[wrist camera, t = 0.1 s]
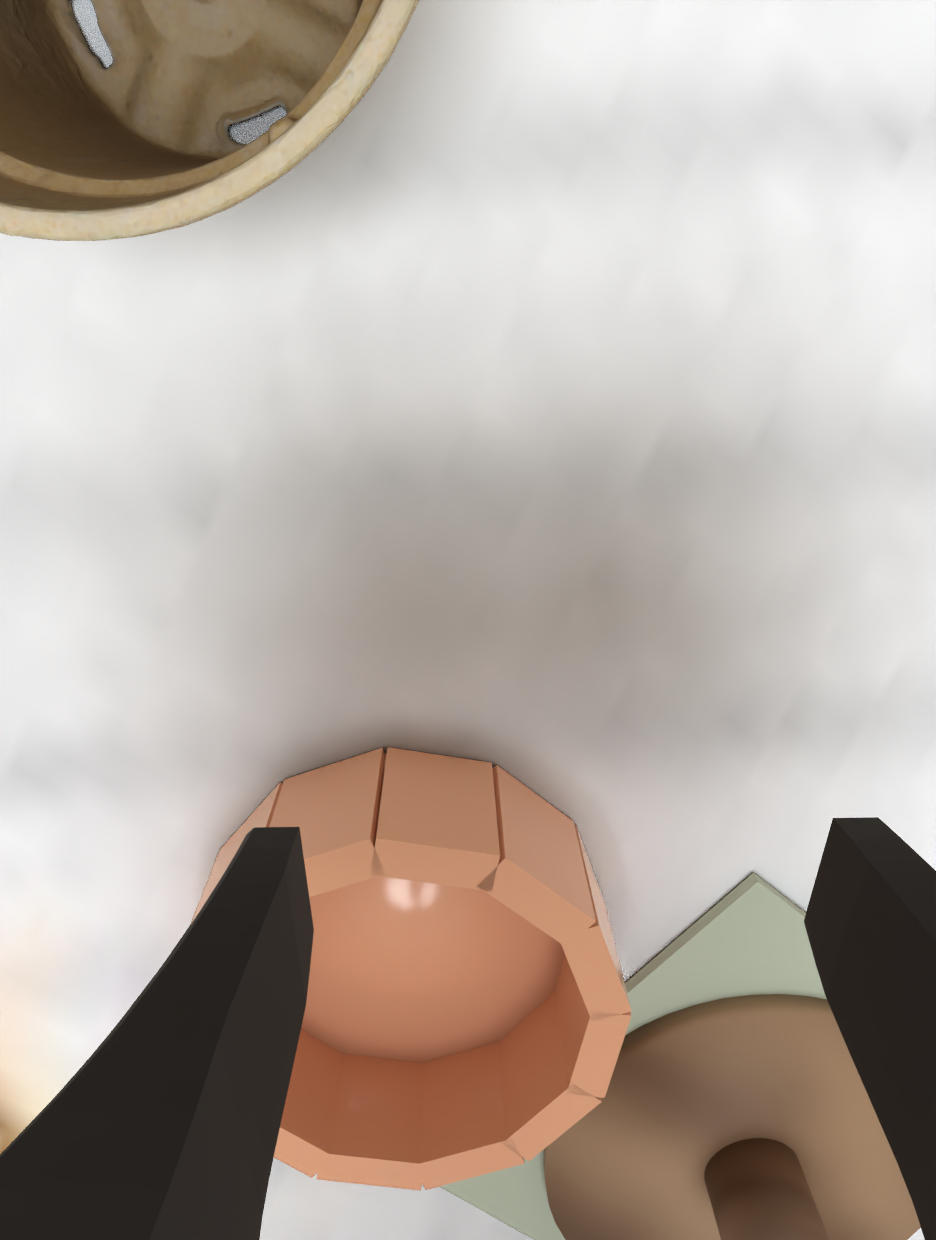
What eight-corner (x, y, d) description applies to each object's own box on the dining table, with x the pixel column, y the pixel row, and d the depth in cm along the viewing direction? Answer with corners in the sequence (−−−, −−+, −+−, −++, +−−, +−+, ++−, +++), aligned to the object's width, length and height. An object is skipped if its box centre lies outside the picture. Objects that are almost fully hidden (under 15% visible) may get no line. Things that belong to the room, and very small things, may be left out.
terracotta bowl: (432, 1114, 28) (430, 1241, 25) (138, 940, 26) (85, 1055, 22) (678, 898, 25) (717, 1007, 22) (375, 675, 23) (361, 755, 19)
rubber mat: (730, 1340, 33) (733, 1352, 33) (417, 1162, 29) (417, 1173, 29) (1065, 1113, 29) (1073, 1124, 29) (753, 872, 25) (757, 881, 25)
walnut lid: (735, 1327, 32) (770, 1458, 29) (460, 1169, 29) (462, 1295, 25) (1029, 1127, 29) (1110, 1248, 25) (755, 921, 25) (805, 1027, 22)
